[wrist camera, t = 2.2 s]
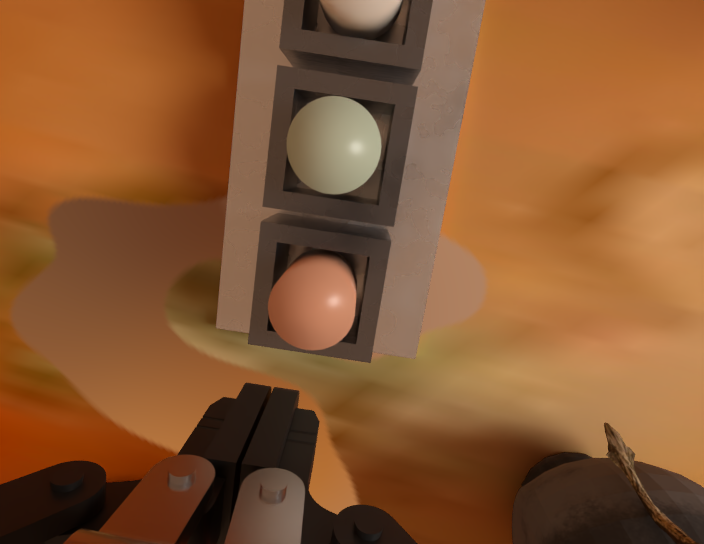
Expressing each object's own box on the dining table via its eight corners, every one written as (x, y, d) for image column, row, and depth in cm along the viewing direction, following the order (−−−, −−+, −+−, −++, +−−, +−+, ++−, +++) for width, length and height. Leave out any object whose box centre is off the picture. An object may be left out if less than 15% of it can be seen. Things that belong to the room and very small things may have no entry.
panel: (493, -56, 27) (528, -118, 21) (413, 353, 33) (424, 393, 27) (257, -93, 27) (226, -165, 21) (220, 323, 33) (188, 357, 27)
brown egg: (362, 255, 27) (361, 273, 22) (351, 323, 28) (348, 356, 23) (289, 243, 27) (272, 260, 22) (281, 313, 28) (263, 343, 23)
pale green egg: (384, 116, 26) (388, 104, 21) (371, 194, 27) (373, 200, 22) (306, 104, 26) (292, 88, 21) (297, 183, 26) (281, 186, 22)
